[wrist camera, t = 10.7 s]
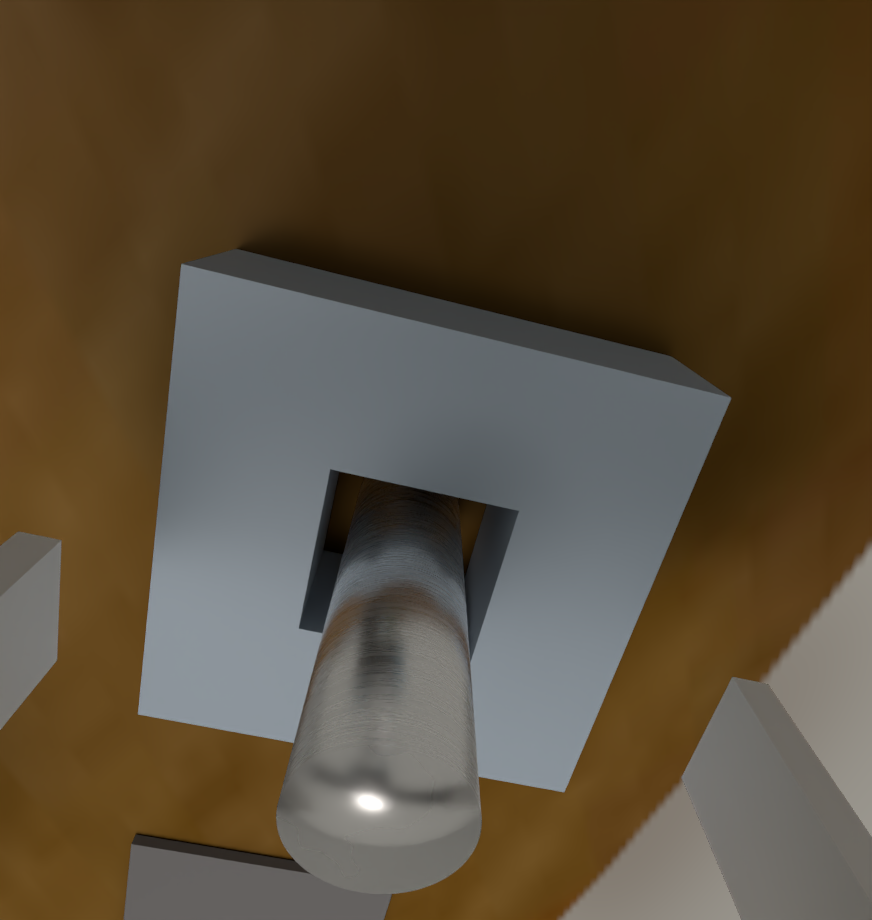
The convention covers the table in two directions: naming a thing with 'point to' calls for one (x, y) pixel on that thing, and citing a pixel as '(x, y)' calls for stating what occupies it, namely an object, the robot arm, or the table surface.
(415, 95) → the table surface
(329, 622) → the peg
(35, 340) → the table surface
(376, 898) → the mat
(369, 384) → the hole block
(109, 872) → the table surface
